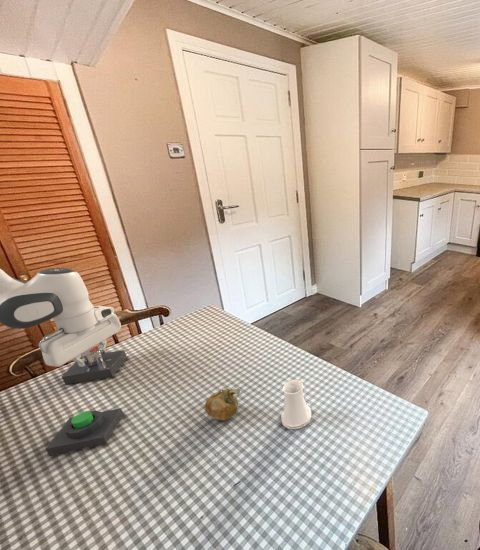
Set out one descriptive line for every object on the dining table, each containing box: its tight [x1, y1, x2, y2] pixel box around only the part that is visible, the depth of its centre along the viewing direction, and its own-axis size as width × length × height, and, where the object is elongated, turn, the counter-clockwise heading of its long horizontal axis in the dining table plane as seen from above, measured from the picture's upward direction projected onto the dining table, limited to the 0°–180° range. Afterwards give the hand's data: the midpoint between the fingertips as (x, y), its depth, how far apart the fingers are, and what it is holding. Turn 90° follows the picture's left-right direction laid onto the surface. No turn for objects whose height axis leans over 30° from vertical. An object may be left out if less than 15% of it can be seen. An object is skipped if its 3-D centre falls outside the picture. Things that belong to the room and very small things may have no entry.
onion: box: [204, 387, 242, 421], centre depth 77 cm, size 8×8×8 cm
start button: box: [71, 410, 94, 429], centre depth 72 cm, size 4×4×2 cm
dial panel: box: [61, 349, 128, 386], centre depth 94 cm, size 12×10×3 cm
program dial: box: [80, 346, 104, 367], centre depth 93 cm, size 4×4×4 cm
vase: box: [280, 379, 312, 430], centre depth 76 cm, size 8×8×10 cm
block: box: [45, 407, 124, 456], centre depth 73 cm, size 11×9×4 cm
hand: (93, 359), depth 94 cm, fingers closed on program dial, 4 cm apart
